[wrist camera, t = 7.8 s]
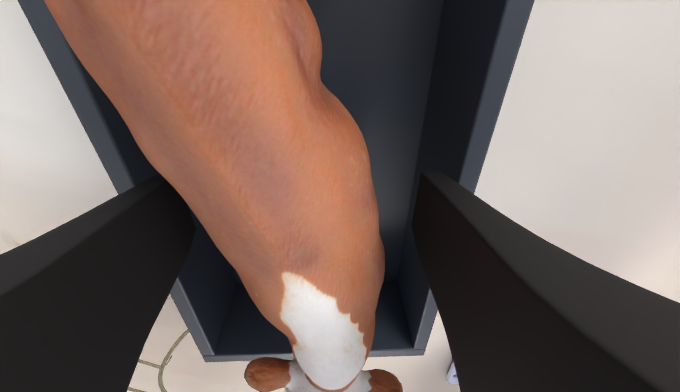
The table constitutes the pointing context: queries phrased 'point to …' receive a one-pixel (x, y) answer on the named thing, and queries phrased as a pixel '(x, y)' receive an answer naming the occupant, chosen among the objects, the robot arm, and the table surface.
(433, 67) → the tote
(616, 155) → the table surface
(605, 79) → the table surface
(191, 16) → the bull figurine
